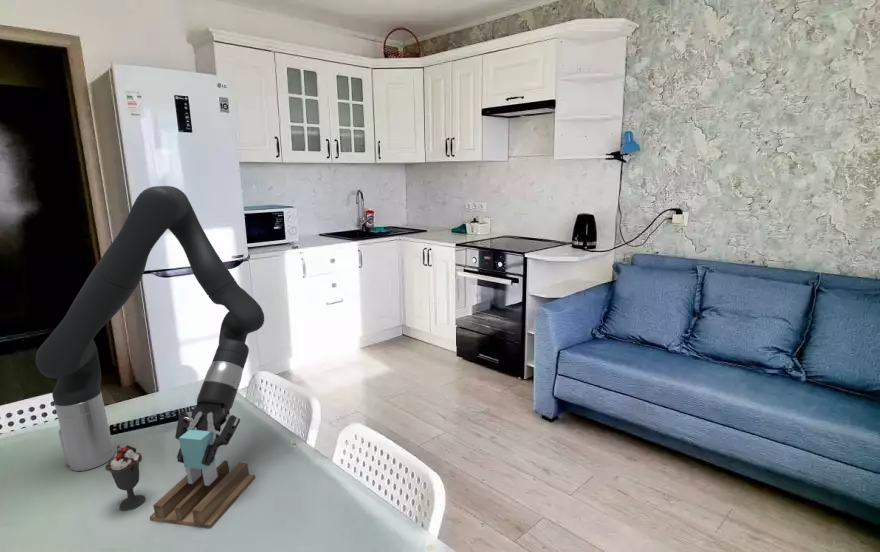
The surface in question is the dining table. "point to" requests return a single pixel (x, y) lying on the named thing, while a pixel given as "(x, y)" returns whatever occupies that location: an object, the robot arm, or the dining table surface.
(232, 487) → the rail
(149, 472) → the dining table surface
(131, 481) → the sundae
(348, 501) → the dining table surface
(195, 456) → the aqua box with feet
